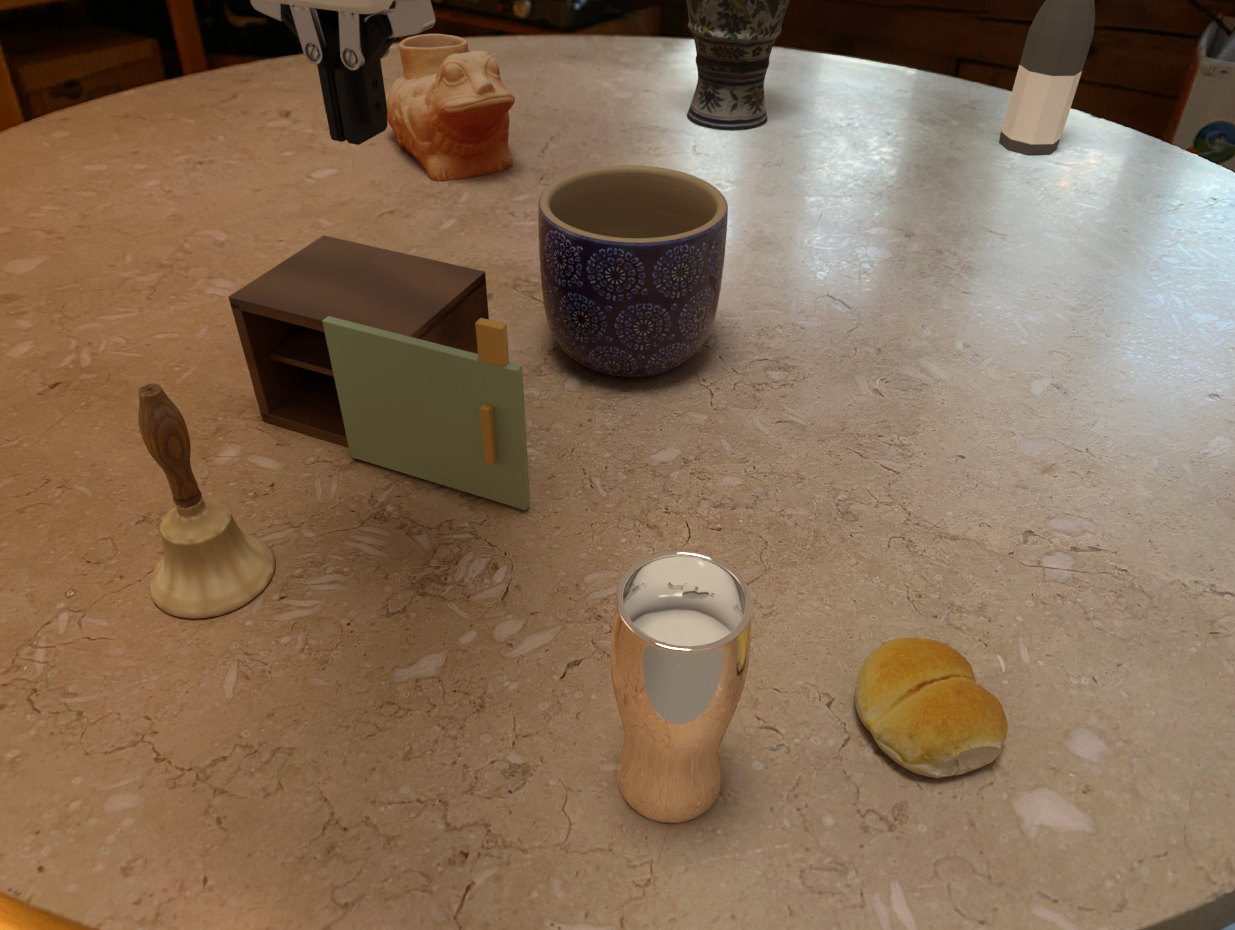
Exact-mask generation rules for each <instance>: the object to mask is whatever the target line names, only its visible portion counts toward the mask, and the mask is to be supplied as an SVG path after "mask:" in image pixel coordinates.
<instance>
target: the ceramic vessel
mask: <svg viewBox="0 0 1235 930" xmlns="http://www.w3.org/2000/svg"><path fill="white" fill-rule="evenodd" d="M398 51H399V55H400V56H399V57H400V61H401V64H402V71H403V75H401V76H400V77H398V78H397V79H396V80H395V81H394V82H393V83H392V86H391V87H390V90H389V91H388V92H387V94H386V95H385V96H386V103H387V112H388V114H387V123H388V125H389V126H390V128H391V130H392V131H393V132H394V134H395V136H396V140H397V143H398V146H399V149H400V150H402V151H403V152H406V153H407V155H408V156H409V157H412V158H413V159H414V161H416V162H418V163H420V165H421V166H422V168H423V169H424V170H425V172H426V173H427V176H428V178H429V179H430V180H432V181H437V182H446V181H456V180H463V179H469V178H470V179H471V178H475V177H480V176H483V175H484V176H485V175H489V174H492V173H496V172H500V171H504V170H507V169H510V168H511V167H513V165H514V160H513V157H512V156H511V155H512V154H511V151H510V148H509V147H510V146H509V137H510V136H509V135H510V130H509V129H510V113H509V111H510V110H511V108H512V107H513V106H514V104H515V101H516V96H515V95H513V94H512V93H511V92H510V91H509V90H508V89H507V88H506V86H505V85H504V82H503V81H502V78H501V71H500V66H499V63H498V61H497V59H496V58H495V57H494V56H493V55H492V54H491V53H490V52H488V51H486V50H481V49H480V50H474V51H470V50H469V43H468V41H467V40H466V39H464V38H463V37H460V36H458V35H451V34H443V33H425V34H416V35H412V36H409V37H407V38H404V39H402V40H401V41H400V42H399V44H398Z"/></svg>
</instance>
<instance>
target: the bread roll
mask: <svg viewBox="0 0 1235 930" xmlns="http://www.w3.org/2000/svg"><path fill="white" fill-rule="evenodd" d="M854 702H855V703H854V704H855V710H856V712H857V715H858V718H859V720H860V721H861V723H862V725H863V726H864V727H865V728H866V730H868V731H869V732H870V734H871V736H872V738H873V740H874V742H875V743H876V744H877V746H878V747H879V749H881V751H882V752H883V753H884V754H885V755H886V756H888V757H889V758H890V759H891V760H893V762H895V763H896V764H897V765H899V766H901V767H903V768H905V769H906V770H908V771H910V772H912V773H914V774H917V775H921V776H925V777H929V778H933V779H940V778H946V777H952V776H961V775H964V774H967V773H970V772H972V771H975V770H978V769H981V768H982V767H983V768H984V767H985V766H986V765H989V764H991V763H992V762H994V761H995V760H996V759H997V758H998V757H999V756H1000V754H1001V753H1002V747H1003V744H1004V742H1005V740H1006V738H1007V734H1008V730H1009V728H1008V726H1009V725H1008V720H1007V714H1006V712H1005V710H1004V707H1003V706H1002V703H1001V702H1000V700H999V699H998V698H997V696H995V694H993V693H991V692H990V691H989V690H988V689H986V688H985V687H983V686H981V685H980V684H978V683H976V677H975V672H974V670H973V667H972V665H971V664H970V662H969V661H968V660H967V658H966V657H965V656H963V655H962V653H960V652H959V651H958V650H956V649H955V648H953V647H952V646H951V645H948V644H946V643H945V642H941V641H938V640H934V639H929V638H922V637H903V638H897V639H894V640H890V641H888V642H885V643H884V644H881V645H879V646H878V647H877V648H876V649H875V650H873V652H872V653H871V654H870V655H868V657H867V658H866V660H865V661H864V663H863V664H862V666H861V668H860V670H859V672H858V675H857V678H856V682H855V689H854Z"/></svg>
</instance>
